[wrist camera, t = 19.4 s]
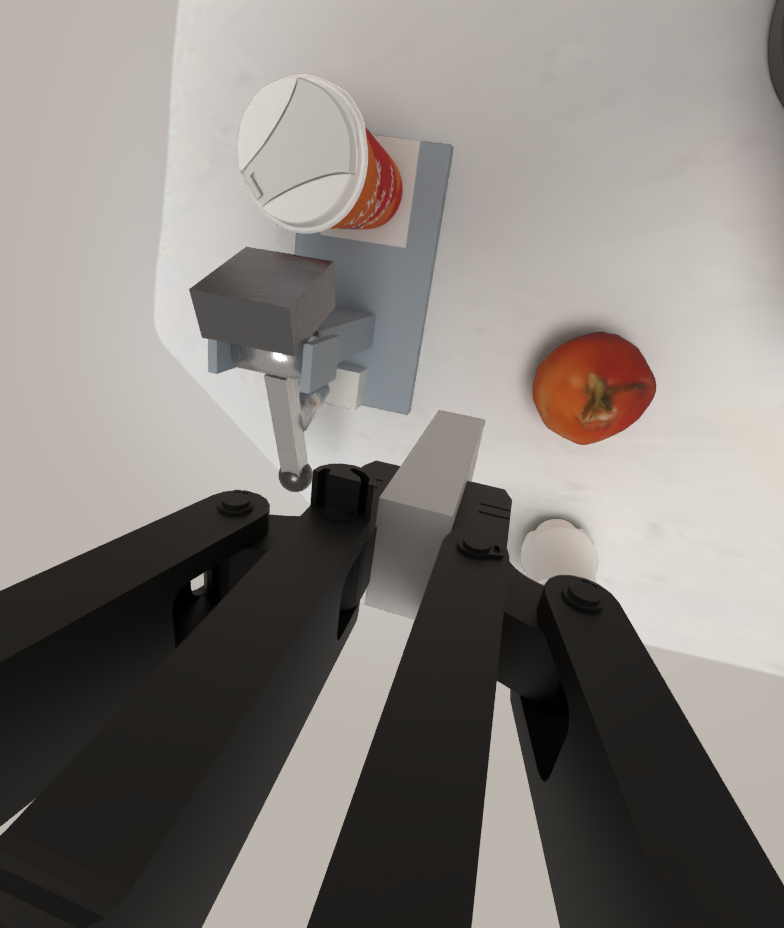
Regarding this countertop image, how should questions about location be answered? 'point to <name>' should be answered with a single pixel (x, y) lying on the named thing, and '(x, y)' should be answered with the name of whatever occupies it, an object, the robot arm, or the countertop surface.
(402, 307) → the frame
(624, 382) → the tomato
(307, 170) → the coffee cup
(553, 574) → the water bottle
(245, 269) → the lever
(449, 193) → the countertop surface
